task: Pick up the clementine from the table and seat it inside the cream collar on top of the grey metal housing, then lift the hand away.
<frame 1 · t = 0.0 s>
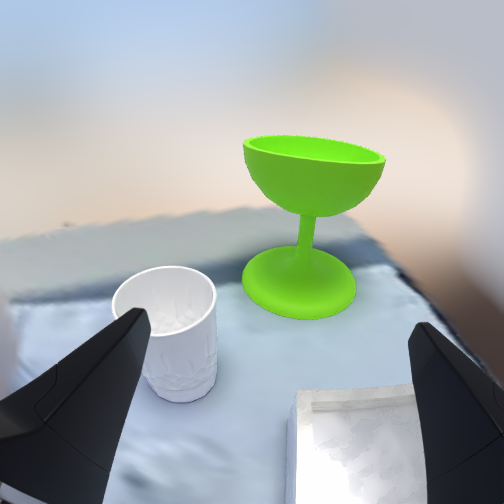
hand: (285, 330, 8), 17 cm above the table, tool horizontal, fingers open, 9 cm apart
white cup: (182, 375, 25), on the table
housing: (360, 478, 15), on the table
wineglass: (299, 280, 39), on the table
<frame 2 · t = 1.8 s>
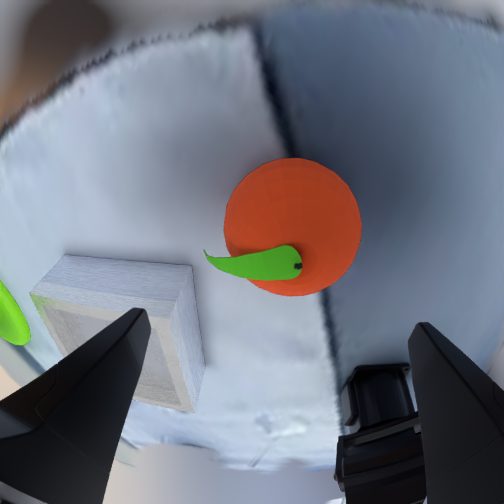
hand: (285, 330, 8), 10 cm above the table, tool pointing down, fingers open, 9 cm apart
clementine: (281, 202, 17), on the table
housing: (135, 316, 24), on the table
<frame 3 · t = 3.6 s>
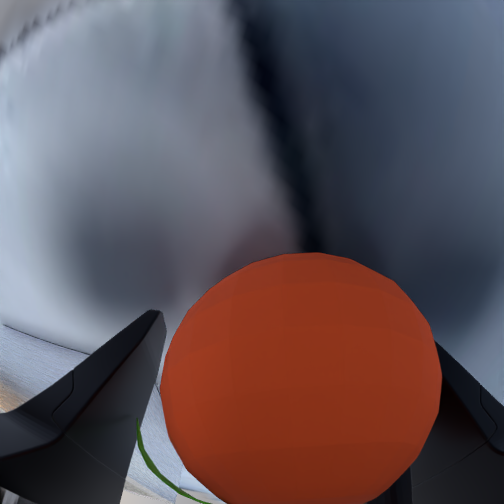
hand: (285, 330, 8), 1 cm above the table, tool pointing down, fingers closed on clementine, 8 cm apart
clementine: (281, 300, 10), on the table, touching gripper
housing: (94, 399, 16), on the table
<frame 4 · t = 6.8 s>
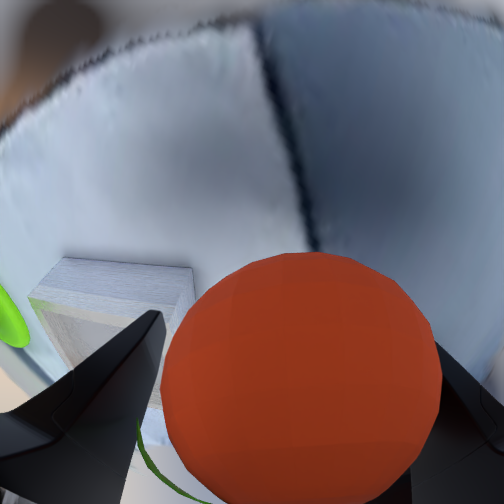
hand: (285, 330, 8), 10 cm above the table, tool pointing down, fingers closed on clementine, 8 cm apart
clementine: (281, 300, 10), point 8 cm above the table, touching gripper
housing: (135, 319, 23), on the table
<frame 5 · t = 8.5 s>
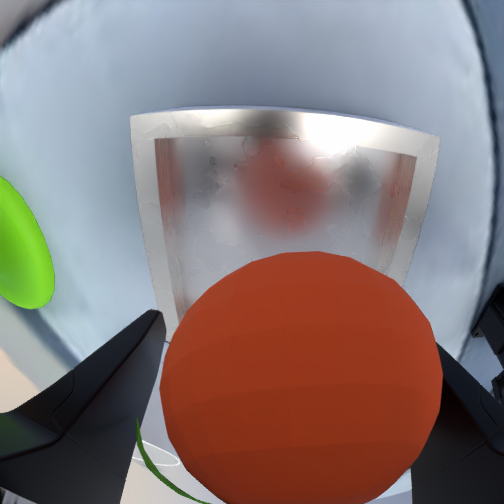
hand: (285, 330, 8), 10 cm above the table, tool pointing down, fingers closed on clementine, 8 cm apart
clementine: (281, 299, 10), point 8 cm above the table, touching gripper
white cup: (163, 359, 26), on the table
housing: (279, 209, 17), on the table
wineglass: (3, 244, 20), on the table
when the fingers open (6 cm above the table, at t = 10.1 s): clementine drops 1 cm, resting on housing.
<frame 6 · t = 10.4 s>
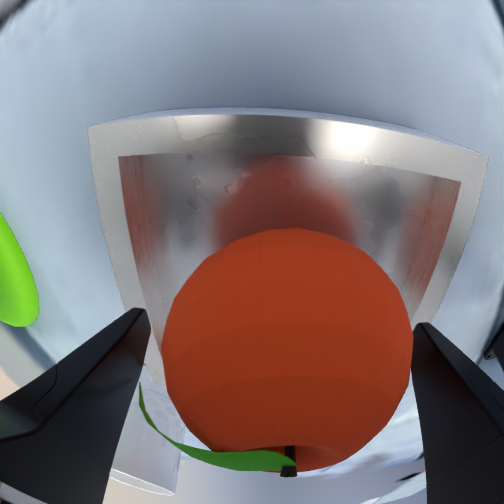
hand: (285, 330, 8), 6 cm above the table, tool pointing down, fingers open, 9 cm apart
clementine: (272, 279, 11), point 4 cm above the table, touching housing
white cup: (155, 383, 23), on the table
housing: (282, 233, 14), on the table
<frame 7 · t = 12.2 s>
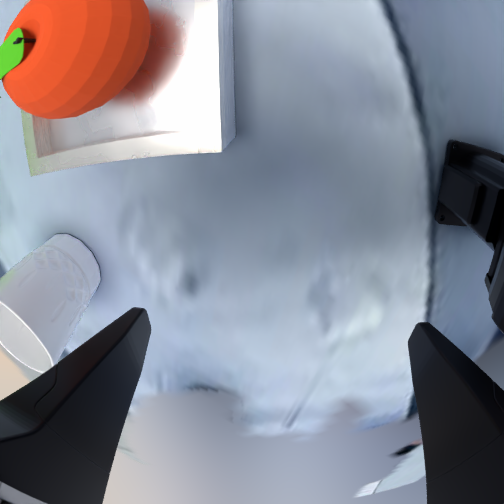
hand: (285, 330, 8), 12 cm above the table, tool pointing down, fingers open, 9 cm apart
clementine: (105, 55, 11), point 4 cm above the table, touching housing
white cup: (73, 263, 23), on the table
housing: (141, 58, 14), on the table
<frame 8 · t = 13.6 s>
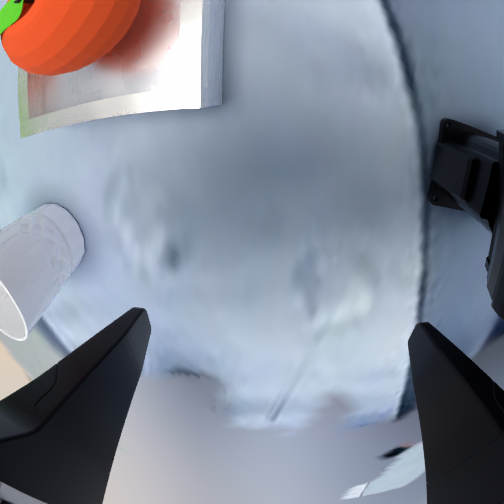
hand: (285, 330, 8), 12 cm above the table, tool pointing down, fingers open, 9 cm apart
clementine: (100, 24, 10), point 4 cm above the table, touching housing
white cup: (60, 234, 22), on the table
housing: (136, 31, 13), on the table
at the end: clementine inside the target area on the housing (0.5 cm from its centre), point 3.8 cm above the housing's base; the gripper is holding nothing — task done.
